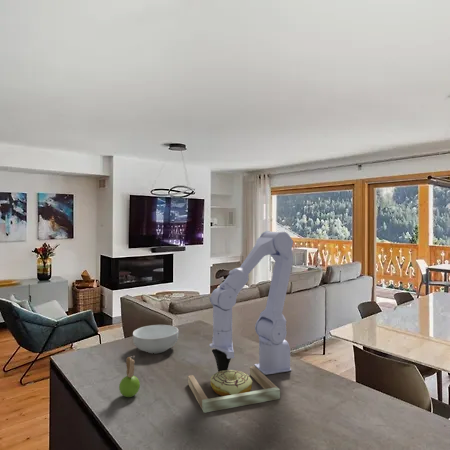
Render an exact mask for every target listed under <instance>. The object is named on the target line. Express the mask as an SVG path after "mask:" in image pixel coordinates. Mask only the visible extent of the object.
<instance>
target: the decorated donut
mask: <svg viewBox="0 0 450 450" xmlns="http://www.w3.org/2000/svg"><path fill="white" fill-rule="evenodd" d="M252 379H253V378H251V376H250V374H248V373H245V372H243V371H241V370H237V369H228V370H222V371H219V372H218V371H217V372H215V373H214V374H213V375H212V376H210V386H211V388H212V391H214V393H216V394H217V395H219V396H220V397H222V396H228V395H234V394H239V393H245V392H251V390H252V387H253V385H252V384H253V380H252Z"/></svg>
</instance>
